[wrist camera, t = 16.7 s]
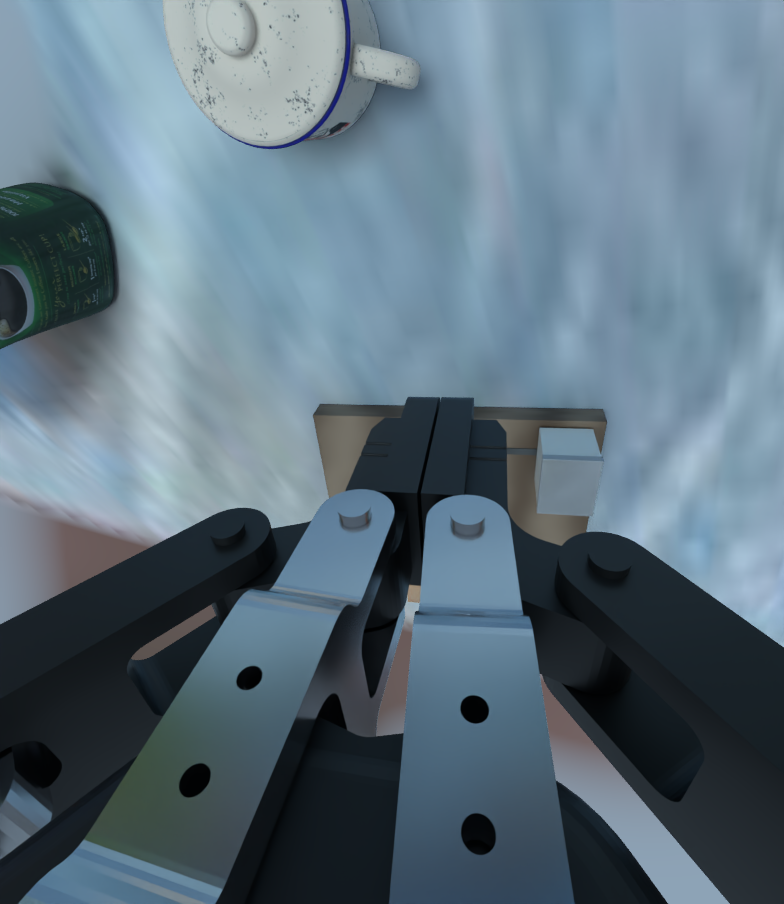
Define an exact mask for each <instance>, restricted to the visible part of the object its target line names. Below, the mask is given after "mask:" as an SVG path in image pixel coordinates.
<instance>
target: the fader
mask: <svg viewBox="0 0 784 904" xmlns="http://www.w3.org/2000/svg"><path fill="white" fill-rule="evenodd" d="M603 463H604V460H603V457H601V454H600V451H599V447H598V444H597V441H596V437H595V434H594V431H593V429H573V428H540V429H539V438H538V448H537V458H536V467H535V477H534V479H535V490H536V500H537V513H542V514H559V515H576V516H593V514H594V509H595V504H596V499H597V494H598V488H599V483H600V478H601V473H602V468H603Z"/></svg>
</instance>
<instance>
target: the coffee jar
mask: <svg viewBox="0 0 784 904" xmlns="http://www.w3.org/2000/svg"><path fill="white" fill-rule="evenodd" d="M113 293H114V270H113V263H112V254H111V249H110V243H109V239H108V234H107V231H106V227H105V225H104V222H103V220H102V218H101V217H100V215H99V214H98V213H97V212H96V210H95V209H94V208H93V207H92V206H91V205H90V204H89V203H88V202H87V201H85V200H84V199H83V198H81V197H80V196H78V195H76V194H74V193H71V192H69V191H67V190H64V189H61V188H58V187H55V186H51V185H48V184H42V183H25V184H19V185H14V186H10V187H6V188H2V189H0V349H2V348H4V347H6V346H8V345H10V344H13V343H15V342H17V341H20V340H23V339H25V338H28V337H30V336H33V335H36V334H38V333H41V332H44V331H47V330H49V329H52V328H55V327H58V326H61V325H64V324H68V323H71V322H73V321H76V320H79V319H82V318H85V317H88V316H90V315H93V314H95V313H98V312H100V311H102V310H104V309H106V308H107V307H108V306H109V305H110V303H111V301H112V298H113Z"/></svg>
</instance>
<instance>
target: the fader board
mask: <svg viewBox="0 0 784 904" xmlns="http://www.w3.org/2000/svg"><path fill="white" fill-rule="evenodd" d="M403 409H404V406H387V405H330V404H320V405H319V407H318V408H317V410H316V411H315V413H314V415H313V418H314V423H315V428H316V433H317V438H318V443H319V448H320V454H321V459H322V464H323V469H324V474H325V479H326V485H327V490H328V495H329V498H331V497H333V496H334V495H336V494H339V493H341V492H345V490H346V487H347V485H348V483H349V480H350V478H351V476H352V473H353V471H354V469H355V466H356V464H357V461H358V459H359V457H360V456H361V452H362V450H363V447H364V445H366V440H367V438H368V436H369V433H370V431H371V429H372V428H373V427H374V426H375V425H377V424H378V423H379V422H380V421H381V420H383V419H384V418H385V417H389V418H401V415H402V412H403ZM474 419H483V420H497V421H498V422H499V423H500V425H501V426H502V427H503V429H504V430H505V431H506V432H507V490H508V511H509V514H510V516H511V518H512V519H513V521H514V522H515V523H516V524H517V526H519V527H520V528H521V529H522V530H524V531H525V532H527V533H528V534H530V535H532V536H534V537H536V538H539V539H541V540H544V541H547V542H550V543H554V544H557V545H560V546H562V545H563V544H564V543H565V542H566V541H567V540H568V539H570V538H571V537H573V536H575V535H578V534H581V533H586V529H587V524H588V518H589V516H576V515H559V514H542V513H537V500H536V490H535V479H534V477H535V467H536V458H537V448H538V438H539V429H540V428H573V429H593V431H594V434H595V437H596V441H597V444H598V447H599V451H600V454H601V451H602V445H603V440H604V435H605V430H606V424H607V420H606V418H605V415H604V412H603V409H556V408H500V407H474Z"/></svg>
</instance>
